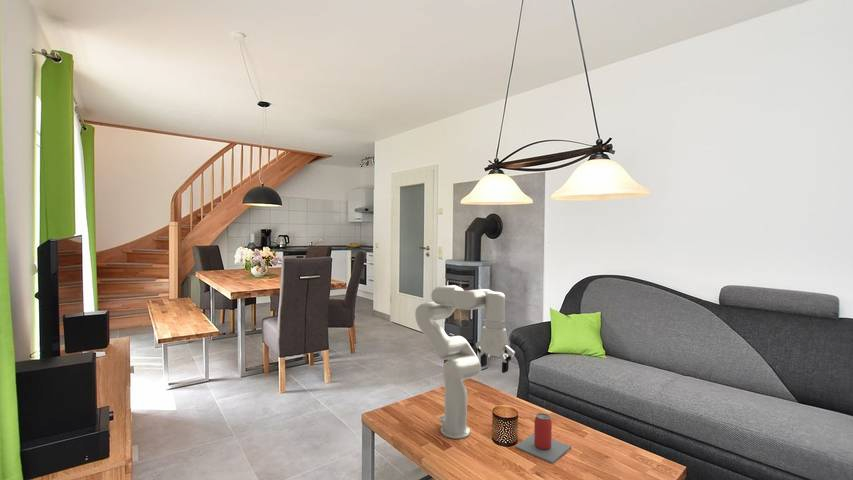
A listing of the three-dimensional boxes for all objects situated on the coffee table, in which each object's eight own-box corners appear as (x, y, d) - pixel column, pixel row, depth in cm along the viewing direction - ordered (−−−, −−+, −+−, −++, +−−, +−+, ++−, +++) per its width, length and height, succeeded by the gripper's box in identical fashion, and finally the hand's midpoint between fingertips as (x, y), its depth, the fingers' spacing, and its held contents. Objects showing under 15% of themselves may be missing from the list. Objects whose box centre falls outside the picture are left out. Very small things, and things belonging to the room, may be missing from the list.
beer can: (552, 451, 157) (552, 420, 157) (534, 449, 158) (535, 418, 158) (550, 442, 163) (550, 413, 163) (533, 441, 164) (534, 411, 164)
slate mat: (515, 447, 160) (515, 446, 160) (535, 433, 172) (535, 432, 172) (552, 463, 149) (552, 462, 149) (571, 447, 161) (571, 446, 161)
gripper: (470, 322, 157) (470, 365, 157) (508, 329, 145) (508, 377, 145) (482, 319, 163) (481, 361, 163) (519, 326, 151) (519, 372, 151)
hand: (494, 369), depth 154 cm, fingers open, 9 cm apart
